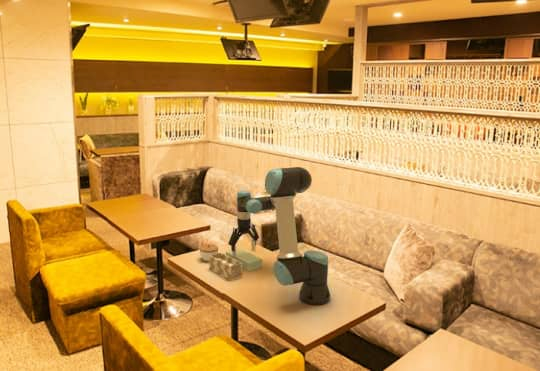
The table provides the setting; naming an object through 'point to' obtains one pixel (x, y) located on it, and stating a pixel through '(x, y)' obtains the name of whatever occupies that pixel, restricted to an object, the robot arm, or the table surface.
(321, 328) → the table surface
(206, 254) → the lidded jar
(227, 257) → the napkin box
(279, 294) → the table surface
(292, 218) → the robot arm
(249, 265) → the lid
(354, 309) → the table surface
